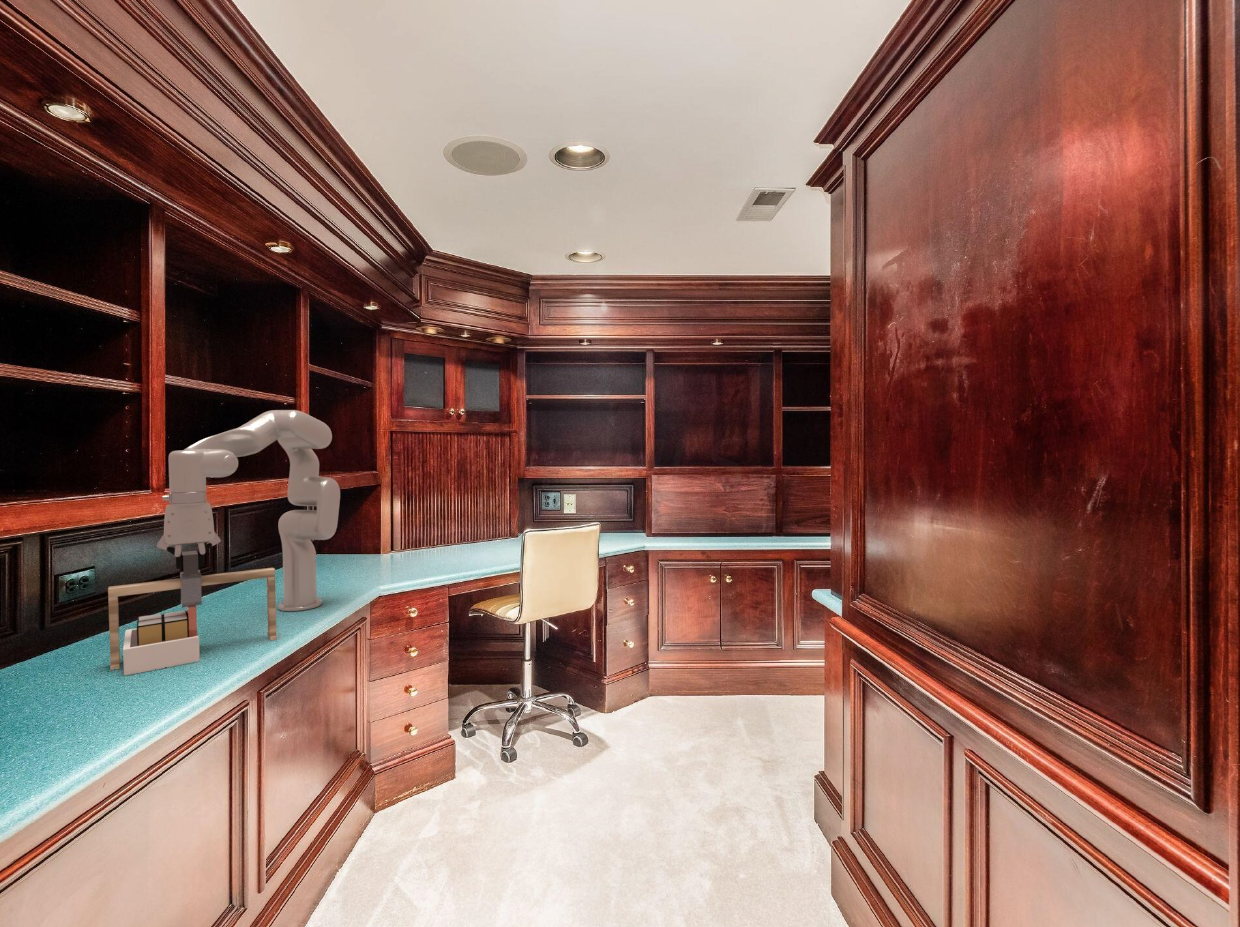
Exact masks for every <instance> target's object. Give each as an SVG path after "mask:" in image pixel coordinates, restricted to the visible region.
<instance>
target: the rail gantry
mask: <svg viewBox="0 0 1240 927" xmlns="http://www.w3.org/2000/svg"><path fill="white" fill-rule="evenodd" d="M258 579H266V602H267V603H266V604H267V608H266V609H267V610H266V611H267V613H266V614H267V632H266V636H267V637H268V639H269V640H270V641H276V639H277V640H278V635H277V605H276V596H277V595H276V569H275V568H274V567H267V568H257V569H249V570H241V571H239V570H238V571H232V572H222V573H215V574H207V575H201V587H203V586H204V587H205V586H212V585H219V584H225V583H226V584H229V583H234V582H236V583H237V582H242V581H243V582H244V581H249V580H251V581H252V580H258ZM179 589H180V590H181V578H180V577H179V578H174V579H164V580H156V581H146V582H140V583H139V582H138V583H128V584H121V585H114V586H108V588H107V594H108V595H107V597H108V598H107V599H108V623H109V625H108V627H109V629H108V630H109V654H110V655H109V656H110V658H109V660H110V665H109V666H110V671H114V669H115V670H119V669H120V666H121V655H120V654H121V652H120V651H121V650H120V646H121V645H120V624H119V623H120V622H119V621H120V620H119V618H120V617H119V597H125V596H132V595H141V594H148V593H157V592H163V591H171V590H179Z"/></svg>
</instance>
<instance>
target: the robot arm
mask: <svg viewBox="0 0 1240 927" xmlns="http://www.w3.org/2000/svg"><path fill="white" fill-rule="evenodd" d="M332 440H333V434H332V431H331V428H330V427H329V425H327V424H326V423H325V422H323V421H321V420H320V419H317V418H316V417H313V416H311V415H310V414H308V413H306V412H304V411H300V410H297V409H275V410H273V409H272V410H268V411H265V412H263V413H261V414H259V415H257V416H256V417H254V418H252V419H250V420H249V421H248V422H246V423H244V424H242V425H241V426H239V427H237V428H233V429H229V430H227V431H224V432H221V433H218V434H215V435H211V436H208V437H205V438H203V439H200V440H198V441H197V442H195V443H194V442H193V444H191V445H189V446H188V447H186V448H184V449H183V450H172V451H171V452H170V453H169V454H168V478H169V479H168V481H169V483H168V487H169V488H168V489H169V493H168V494H166V495H165V494H164V495H162V501H163V502H164V501H166V502H168V503H169V504H167V505H166V506H165V510H164V521H163V523H164V524H163V535H162V536H161V538H160V540H159V541H158V542H157V544H156V548H157V549H161V550H164V551H167V552H168V553H170V554H172V555H173V556H174V557H175V568H176V569H175V570H178V569H179V573H180V572H183V555H182V545H192V544H193V545H194V544H197V545H198V551H197V553H198V570H200V571H202V567H205V554H206V553H207V552H208V551H209V550H210V549H211V548H212V547H213V546H215V545H217V544H219V543H221V542H222V540H221V538H220V537H219V536H218V534H217V533H216V531H215V525H214V516H213V509H212V505H211V503H210V502H207V479H206V478H225V477H226V478H227V477H229V476H231V475H232V474H234V473H235V472H236V471H237V469H238V468H239V459H238V458H240V457H247V456H251V455H254V454H257V453H260V452H261V451H262V450H264V449H265V448H267V447H268V446H270V445H271V444H273V443H275V442H276V441H277V442H278V444H279V445H280V446H281V448H282V449H283V450H284V451H285V452H286V454H287V457H288V459H289V465H290V466H289V476H288V484H287V500H288V502H289V503H290V504H292V505H294V506H300V507H316V509H315V510H313V509H312V510H311V509H293V510H289V511H287V512H285V513H283V514H282V515H281V516H280V518H279V519H278V524H277V525H278V526H277V527H278V534H279V536H280V541H281V549H282V576H283V577H282V578H283V579H282V580H283V582H282V583H283V588H282V589H283V601H282V602H281V603H279V604H278V610H279V611H282V612H298V611H299V612H300V611H305V610H313V609H315V608H318V607H320V606H321V605H322V604H323V600H322V599H321V598H319V597H318V596H317V595H318V594H317V551H316V548H315V546H314V544H313V541H316V540H317V541H321V540H322V541H325V540H329V539H331V538H332V537H333V536H334V535H335V534H336V532H337V528H338V522H339V512H340V501H341V490H340V489H341V488H340V485H339V484H338V482H337V481H336V480H335V479H334V478H332V477H329V476H328V477H327V476H326V477H325V476H323V477H322V476H320V461H319V458H318V456H317V454H316V453H315V452H314V449H315V450H319V449H320V450H321V449H326V448H327V447H329V445H330V444H331V442H332ZM312 540H313V541H312ZM173 546H174V547H173Z"/></svg>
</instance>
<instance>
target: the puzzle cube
mask: <svg viewBox="0 0 1240 927" xmlns="http://www.w3.org/2000/svg"><path fill="white" fill-rule="evenodd" d="M136 628H137V646H141V645H147V644H153V643H159V642H165V641H171V640H177V639H183V638H189V619H188V615H187V609H186V610H185V609H184V610H178V611H177V610H176V611H172V612H171V611H170V612H166V613H165V612H164V613H163V614H162V613H157V614H151V615H150V614H149V615H143V616H142V615H141V616H138V617H137V620H136Z"/></svg>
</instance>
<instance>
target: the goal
mask: <svg viewBox="0 0 1240 927" xmlns="http://www.w3.org/2000/svg"><path fill="white" fill-rule="evenodd" d="M124 632H125V633H124V640H123V648H122V654H123V655H122V656H123V659H122V660H123V676H124V677H125V676H128V675H135V674H140V673H145V672H150V671H155V669H156V670H160V669H165V667H167V668H171V667H175V666H176V667H177V666H181V665H186V664H190V663H191V664H192V663H197V662H200V661H201V659H200V658H201V657H200V637H199V636H200V635H197V636H194V637H189V638H183V639H177V640H171V641H165V642H159V643H153V644H147V645H141V646H137V627H136V628H131V629H129V628H128V629H125V631H124Z"/></svg>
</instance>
